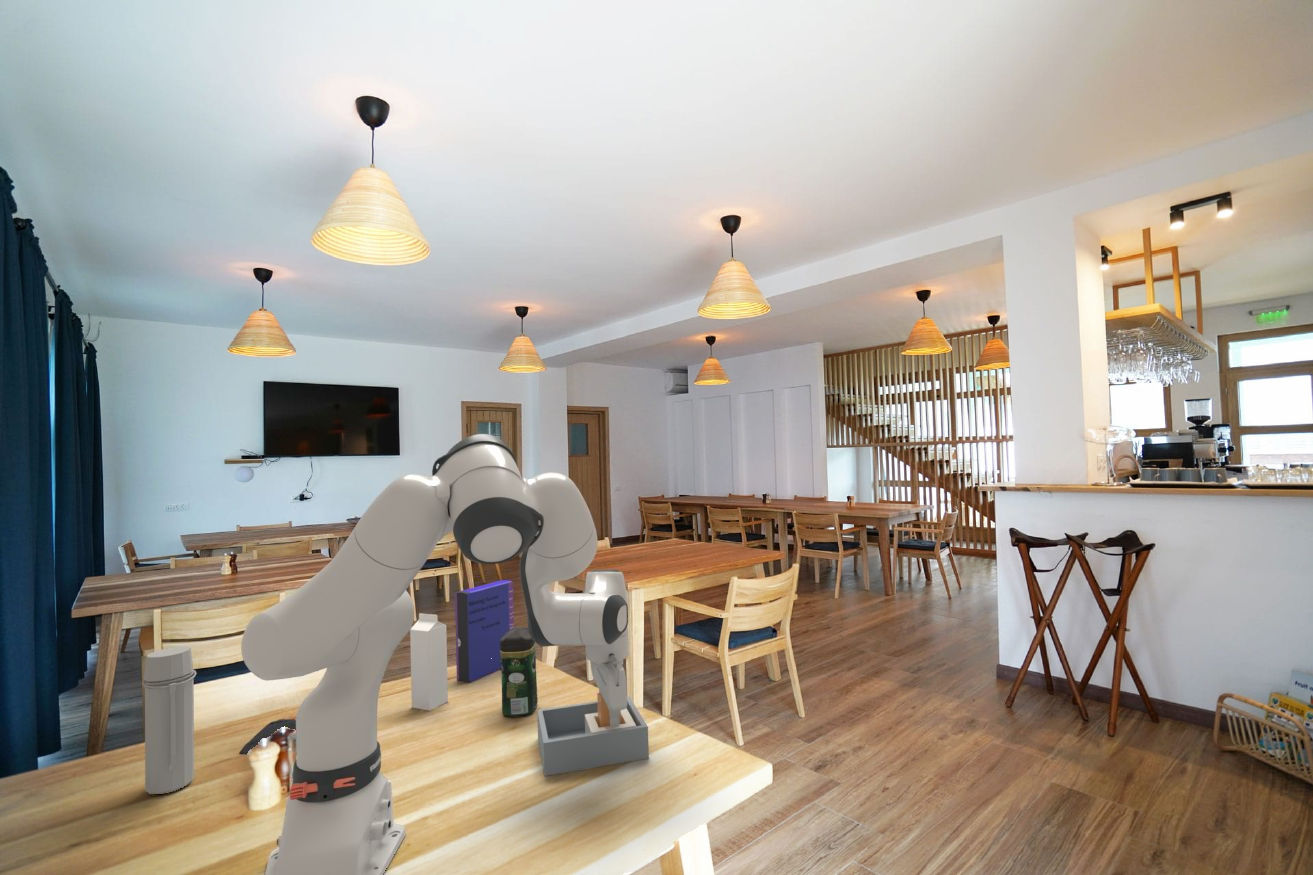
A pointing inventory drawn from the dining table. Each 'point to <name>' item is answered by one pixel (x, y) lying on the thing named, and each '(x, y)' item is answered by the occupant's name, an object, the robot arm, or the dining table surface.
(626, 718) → the socket
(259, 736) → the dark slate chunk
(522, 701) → the coffee jar
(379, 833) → the robot arm
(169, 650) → the water bottle
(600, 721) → the plug
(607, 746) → the bin
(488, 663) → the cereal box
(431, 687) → the milk
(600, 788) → the dining table surface
